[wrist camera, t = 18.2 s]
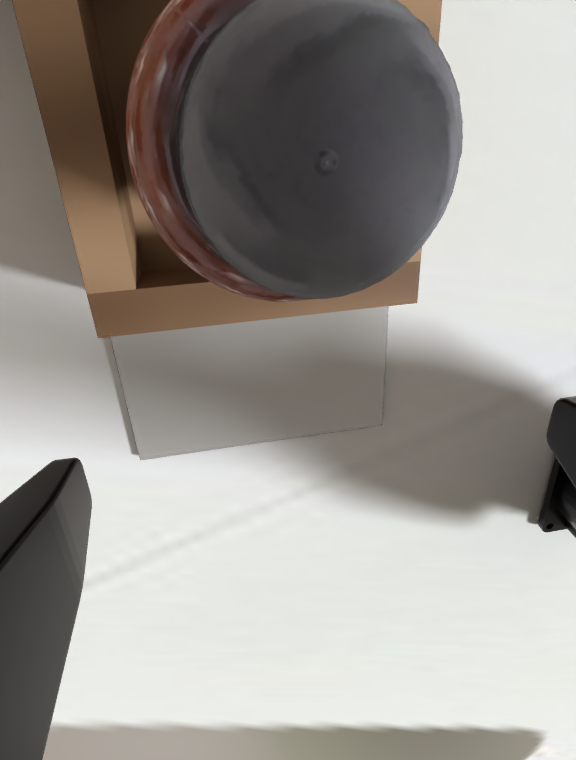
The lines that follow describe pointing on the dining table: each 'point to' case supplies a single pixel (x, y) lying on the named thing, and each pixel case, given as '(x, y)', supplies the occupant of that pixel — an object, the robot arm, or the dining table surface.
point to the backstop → (253, 380)
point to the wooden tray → (115, 181)
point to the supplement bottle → (293, 141)
